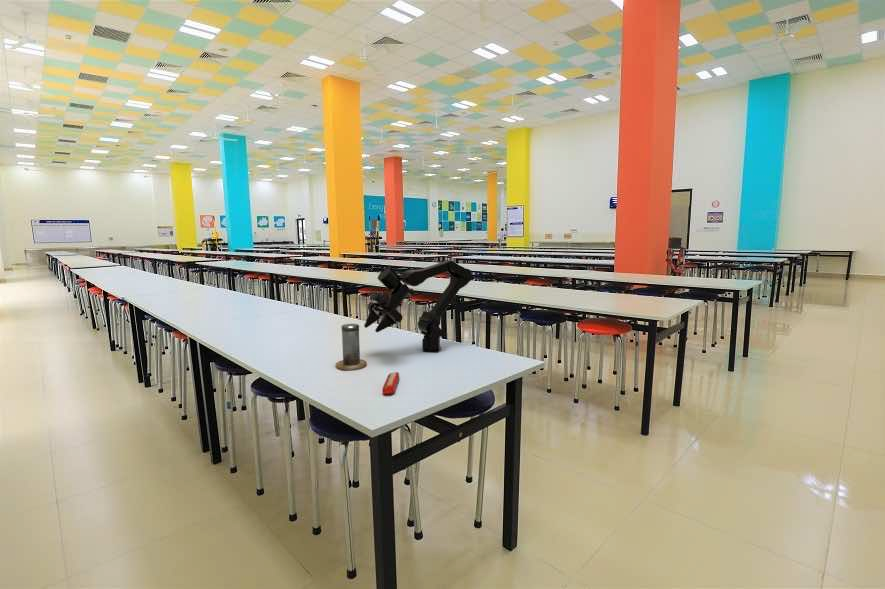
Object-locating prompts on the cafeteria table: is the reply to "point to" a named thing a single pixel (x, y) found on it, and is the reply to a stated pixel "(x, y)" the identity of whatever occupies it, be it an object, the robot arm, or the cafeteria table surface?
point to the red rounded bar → (390, 383)
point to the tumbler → (350, 344)
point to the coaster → (350, 368)
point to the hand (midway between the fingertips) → (370, 329)
